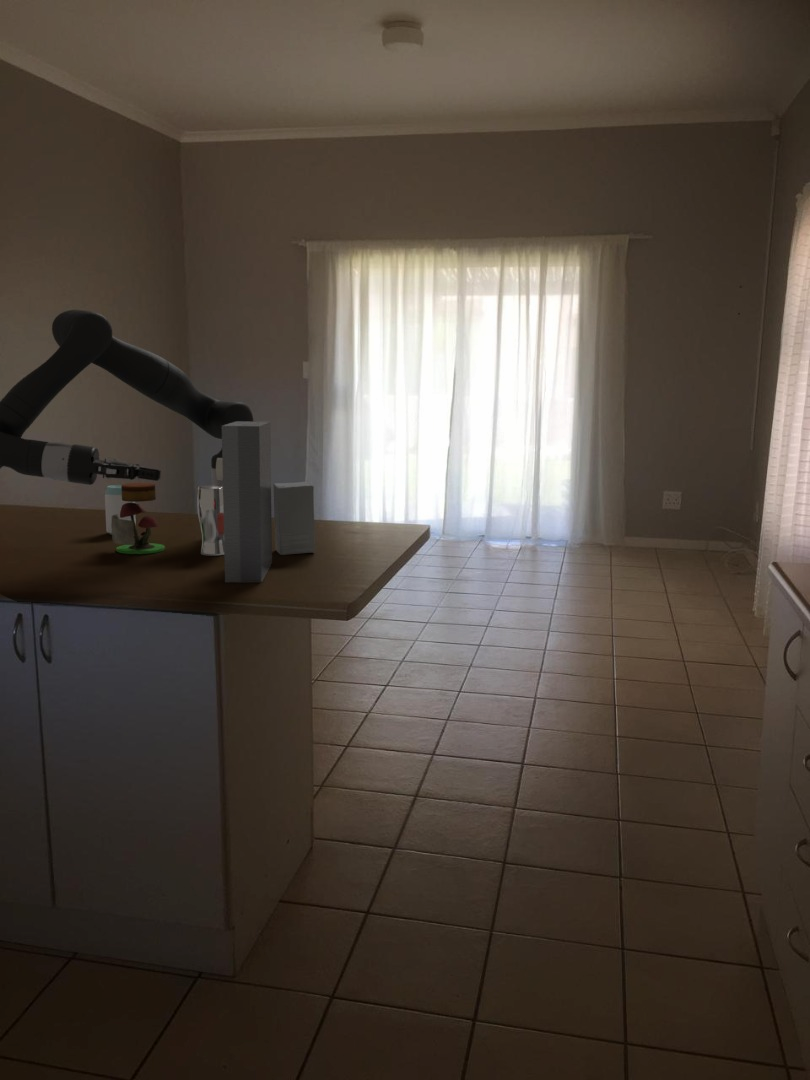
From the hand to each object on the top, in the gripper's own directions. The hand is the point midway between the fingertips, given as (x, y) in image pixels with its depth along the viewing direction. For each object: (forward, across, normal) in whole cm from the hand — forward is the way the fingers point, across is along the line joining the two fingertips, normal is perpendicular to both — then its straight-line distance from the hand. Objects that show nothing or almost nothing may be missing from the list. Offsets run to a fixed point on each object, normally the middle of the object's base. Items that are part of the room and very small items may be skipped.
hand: (160, 475), depth 177 cm
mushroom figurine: (-6, +24, +20) cm, 32 cm away
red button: (+15, -1, +10) cm, 18 cm away
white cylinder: (+14, -2, -1) cm, 14 cm away
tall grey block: (+20, -1, +17) cm, 26 cm away
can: (-14, +46, +20) cm, 52 cm away
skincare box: (+29, +20, +15) cm, 38 cm away
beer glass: (+11, +19, +18) cm, 28 cm away
